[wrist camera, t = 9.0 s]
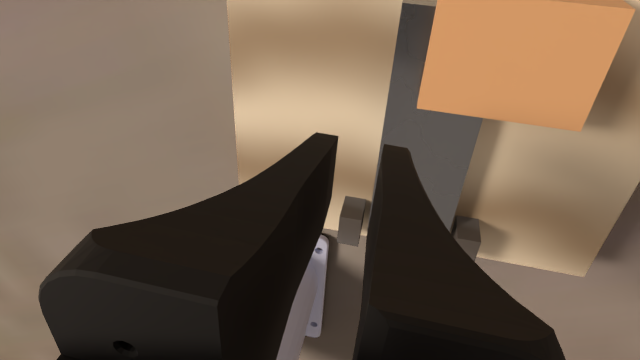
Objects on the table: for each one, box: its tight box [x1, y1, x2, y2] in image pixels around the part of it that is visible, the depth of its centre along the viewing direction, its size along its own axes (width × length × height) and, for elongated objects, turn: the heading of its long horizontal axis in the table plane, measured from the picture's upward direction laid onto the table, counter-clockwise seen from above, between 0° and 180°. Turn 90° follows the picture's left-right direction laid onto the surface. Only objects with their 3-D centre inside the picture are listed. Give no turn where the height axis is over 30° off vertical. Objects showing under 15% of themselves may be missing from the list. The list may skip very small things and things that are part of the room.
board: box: [227, 0, 640, 277], centre depth 17 cm, size 18×17×4 cm
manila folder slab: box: [417, 0, 636, 132], centre depth 15 cm, size 4×6×2 cm
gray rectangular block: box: [367, 0, 483, 232], centre depth 18 cm, size 10×4×1 cm, turn 177°
